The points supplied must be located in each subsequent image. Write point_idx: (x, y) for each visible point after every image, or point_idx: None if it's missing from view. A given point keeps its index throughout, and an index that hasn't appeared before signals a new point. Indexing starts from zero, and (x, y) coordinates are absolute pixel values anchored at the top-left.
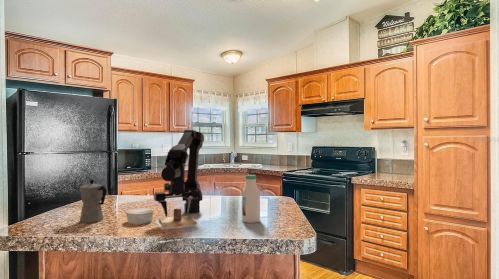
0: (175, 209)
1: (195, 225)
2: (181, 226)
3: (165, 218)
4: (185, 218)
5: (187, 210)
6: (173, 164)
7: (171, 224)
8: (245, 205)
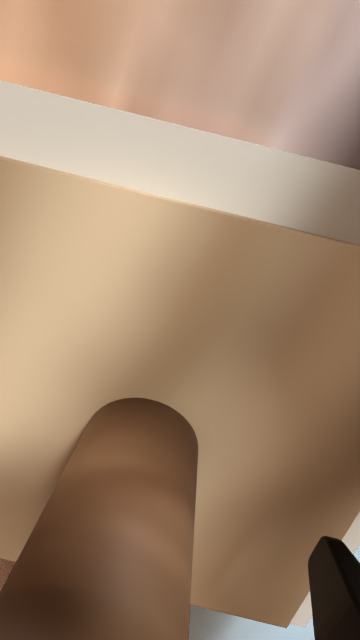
0: (36, 633)
1: None
2: None
3: (5, 235)
4: (285, 443)
5: (357, 609)
6: None
7: (7, 550)
8: None
